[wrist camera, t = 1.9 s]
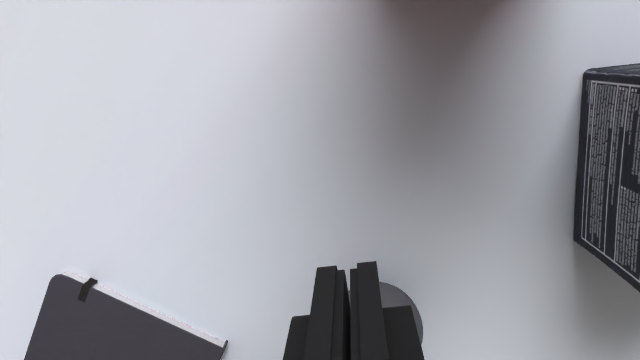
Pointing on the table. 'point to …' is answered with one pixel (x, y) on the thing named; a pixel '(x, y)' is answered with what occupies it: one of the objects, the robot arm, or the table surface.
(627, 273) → the small box
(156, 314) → the notebook
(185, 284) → the table surface
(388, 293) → the dark gray ball
